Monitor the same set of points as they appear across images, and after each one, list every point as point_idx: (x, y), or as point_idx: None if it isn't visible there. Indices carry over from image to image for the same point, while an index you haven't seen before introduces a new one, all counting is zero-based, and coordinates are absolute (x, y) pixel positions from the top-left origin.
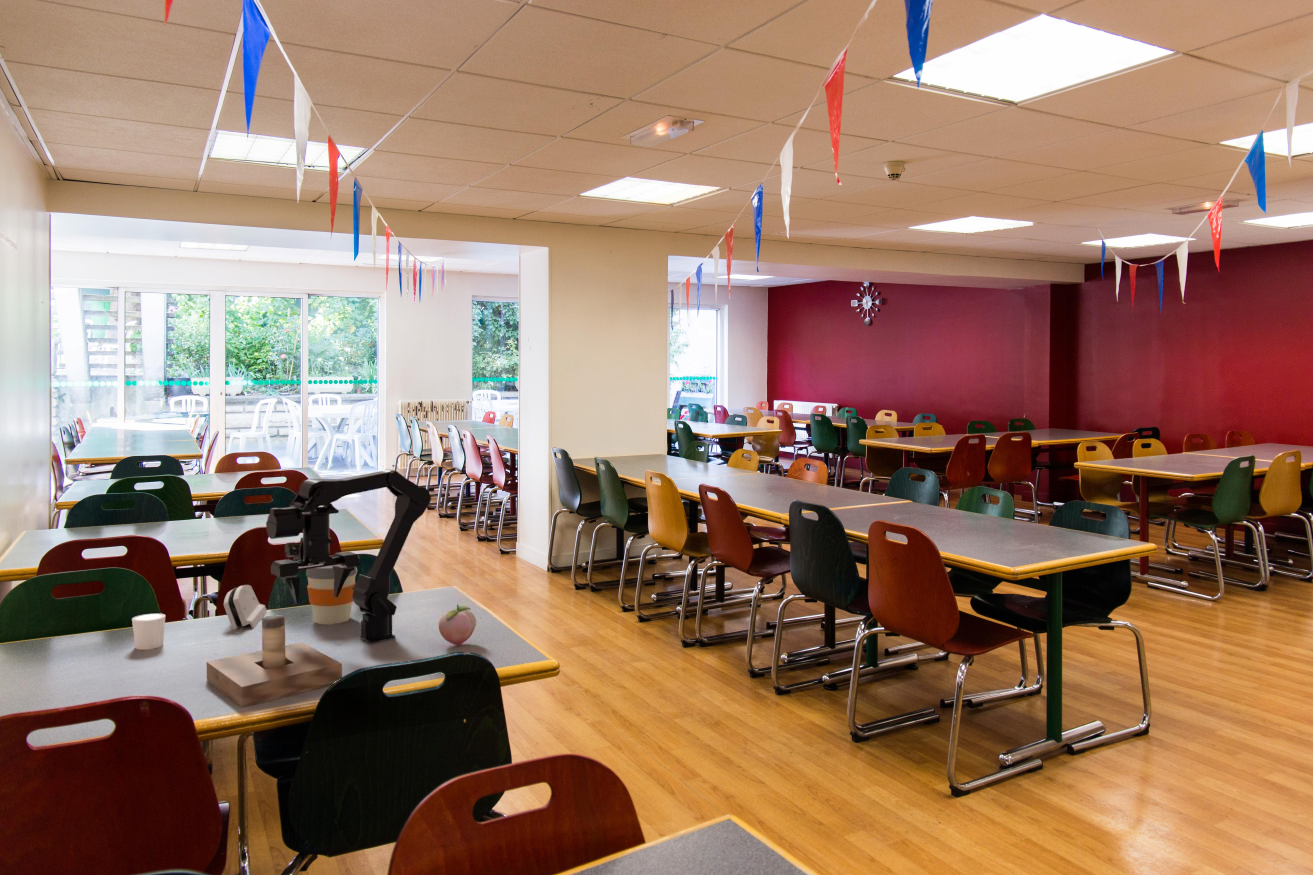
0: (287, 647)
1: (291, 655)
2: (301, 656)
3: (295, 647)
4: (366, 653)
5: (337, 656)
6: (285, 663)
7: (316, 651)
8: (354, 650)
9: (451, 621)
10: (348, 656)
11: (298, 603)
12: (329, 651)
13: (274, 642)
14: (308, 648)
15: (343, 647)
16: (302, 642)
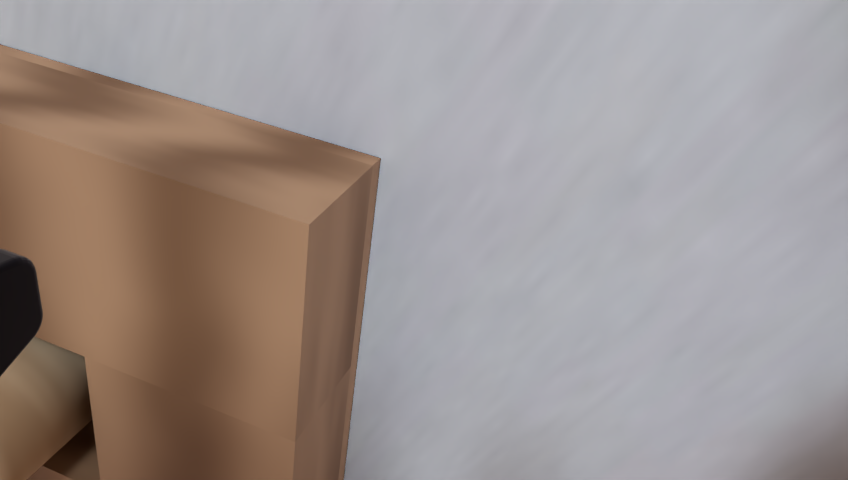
0: (166, 235)
1: (128, 392)
2: (169, 456)
3: (211, 288)
4: (788, 473)
5: (597, 333)
6: (77, 432)
7: (279, 475)
8: (806, 349)
9: None
10: (647, 402)
11: (32, 334)
12: (657, 182)
13: None
14: (269, 389)
15: (833, 202)
16: (307, 236)
